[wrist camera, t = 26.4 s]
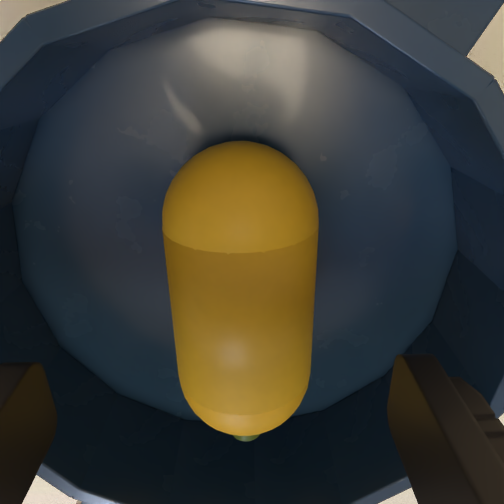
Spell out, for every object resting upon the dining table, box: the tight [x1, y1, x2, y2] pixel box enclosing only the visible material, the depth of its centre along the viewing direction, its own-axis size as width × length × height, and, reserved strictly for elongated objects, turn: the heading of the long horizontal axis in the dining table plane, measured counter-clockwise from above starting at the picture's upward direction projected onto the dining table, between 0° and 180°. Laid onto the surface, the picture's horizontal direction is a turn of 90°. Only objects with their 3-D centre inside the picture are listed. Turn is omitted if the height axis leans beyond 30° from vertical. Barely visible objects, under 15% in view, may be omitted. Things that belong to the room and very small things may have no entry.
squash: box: [162, 141, 319, 441], centre depth 14 cm, size 11×5×5 cm, turn 1°
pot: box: [0, 0, 504, 504], centre depth 14 cm, size 17×23×5 cm
